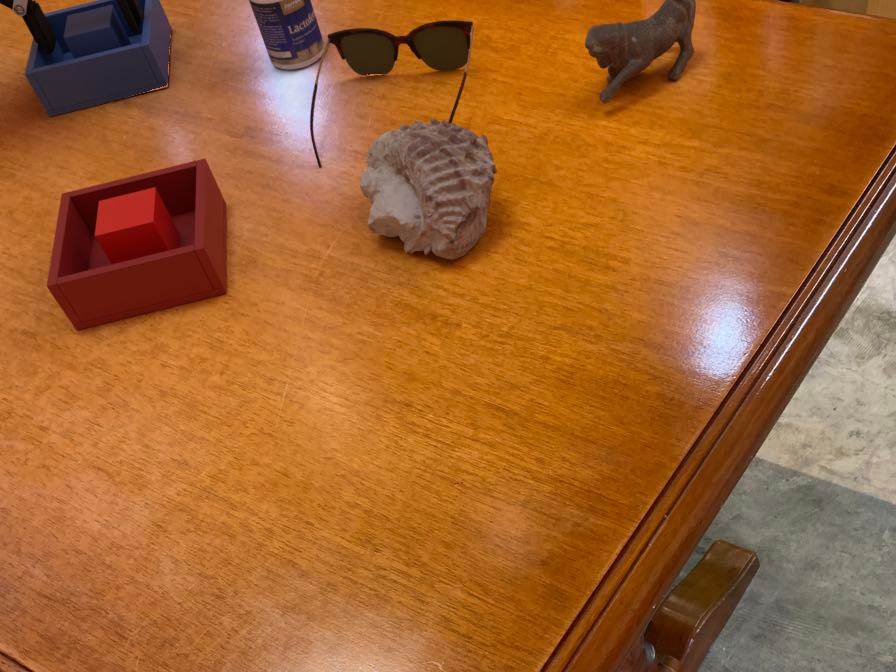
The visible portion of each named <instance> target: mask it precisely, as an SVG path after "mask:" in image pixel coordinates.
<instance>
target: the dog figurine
mask: <svg viewBox="0 0 896 672" xmlns="http://www.w3.org/2000/svg"><path fill="white" fill-rule="evenodd" d="M696 10H697V3H696V0H664V1H663V3H662V4H661V5H660V7H659V9H658V10H656V11H655V12H654V13H653V14H652V15H650V17H648V18H645V19H639V20H634V21H629V22H621V21H618V22H614V23H603V24H598V25H597V24H595V25H592V26H591V27H590V28H589V29H588V31H587V34H586V37H585V40H584V47H585V48H586V49H587V51H588V54H589V56H590V57H591V58H592V59H593V58H594V59H596V62H597V65H598V67H599V68H600V69H602V70H603V69H604V70H605V69H606V70H607V74H608V75H607V76H606V78H605V79H606V81H607V83H608V84H607V86H606V87H605V88H604V89H603V90H602V91H601V92H600V93H599V96H598V99H599V101H600V102H601V103H602V104H608V103H610V102H611V101H612V100H613V96H615V95H616V94H617V93H618V92H619V90H620V88H621V86H622V85H623V84H624V83H625V82H626V81H627V80H629V79H631V78H633V77H634V76H636V75H638V74H640V73H642V72H643V71H645V70H646V69H648V68H649V67H650V66H651V65H652V63H653V62H654V61H655V60H656V59H658V58H660V57H661V56H663V55H664V54H665V53H666V52H667V51H668V50H670V48H672V47H673V46H674V45H675V44H676V43H677V44H678V46H679V54H678V56H677V58H676V60H675V62H674V64H673V66H672V67H671V69H670V70H669V72H668V74H667V78H668V79H670V80H673V81H676V80H678V79H680V78H681V73H682V72H684V71H685V69H686V67H687V64H688V62H689V61H690V60H691V59H692V58H693V56H694V54H695V49H694V46H693V45H694V44H693V41H692V34H693V30H694V26H695V20H696Z"/></svg>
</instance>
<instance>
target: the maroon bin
mask: <svg viewBox="0 0 896 672" xmlns="http://www.w3.org/2000/svg"><path fill="white" fill-rule="evenodd" d="M154 187H155V188H156V189H157V191H158V193H159V195H160V197H161V199H162V201H163V203H164V205H165V207H166V209H167V211H168V212H169V214H170V216H171V218H172V220H173V222H174V224H175V226H176V228H177V230H178V232H179V234H180V248H177V249H173V250H169V251H165V252H161V253H157V254H153V255H148V256H144V257H140V258H136V259H132V260H128V261H124V262H120V263H116V264H111V262H110V261H109V259H108V257H107V256H106V254H105V252H104V251H103V249H102V247H101V246H100V244H99V242H98V241H97V239H96V237H95V229H96V221H97V213H98V205H99V201H101V200H105V199H110V198H114V197H118V196H122V195H126V194H130V193H134V192H138V191H142V190H146V189H150V188H154ZM59 202H60V203H59V208H58V214H57V220H56V225H55V226H56V227H55V231H54V238H53V245H52V252H51V256H50V263H49V269H48V276H47V282H46V288H47V289H48V291H49V292H50V294H51V295H52V297H53V299H54V300H55V301H56V303H57V304H58V305H59V307H60V308H61V310H62V311H63V313H64V314H65V316H66V317H67V319H68V320H69V322H70V323H71V325H72V326H73V327H74V329H75V330H76V331H79V330H83V329H87V328H91V327H96V326H101V325H104V324H106V323H111V322H117V321H120V320H124V319H128V318H133V317H136V316H139V315H140V316H141V315H145V314H148V313H152V312H157V311H161V310H164V309H169V308H172V307H176V306H181V305H185V304H188V303H193V302H197V301H201V300H205V299H210V298H213V297H217V296H221V295H225V294H227V293H228V292H227V291H228V290H227V285H228V284H227V202H226V200H225V198H224V196H223V194H222V191H221V189H220V187H219V185H218V182H217V180H216V178H215V176H214V173H213V172H212V170H211V167H210V165H209V162H208V161H207V159H206V158H201V159H198V160H193V161H192V160H191V161H188V162H185V163H180V164H176V165H172V166H169V167H164V168H159V169H155V170H152V171H147V172H144V173H140V174H136V175H131V176H128V177H124V178H119V179H116V180H112V181H107V182H104V183H99V184H96V185H91V186H88V187H87V186H86V187H84V188H83V187H82V188H79V189H75V190H71V191H66V192H62V193H61V195H60V201H59Z"/></svg>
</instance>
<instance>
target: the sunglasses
mask: <svg viewBox="0 0 896 672" xmlns="http://www.w3.org/2000/svg"><path fill="white" fill-rule="evenodd" d="M474 31H475V28H474V21H468V20H454V19H453V20H450V19H449V20H437V21H432V22H427V23H424V24H421V25H419V26H417V27H415V28H413V29H411V31H409V32H408V34H406V35H397V36H396V35H394V34H392V33H391V32H388V31H385V30H382V29H378V28H372V27H370V28H369V27H356V28H348V29H342V30H338V31H335V32H332V33H328V34H327V39H326V42H325V43H324V45H325V47H324V51H323V54H322V56H321V57H320V61H319V64H318V68H317V73H316V76H315V82H314V86H313V92H312V98H311V104H310V115H309V131H310V139H311V144H312V148H313V151H314V156H315V159H316V162H317V165H318V168H322V164H321V160H320V157H319V152H318V149H317V144H316V141H315V140H316V139H315V134H314V115H315V104H316V98H317V92H318V84H319V79H320V75H321V74H320V73H321V70H322V66H323V63H324V59H325V57H326V55H327V52H328V50H329V46H330V44H332V45H334V46H335V48H336V51H337V52H338V54H339V56H340V59H341V60H345V61H346V63H347V65H348V66H349V68H350V69H351V70H352V71H353V72H354V73H356V74H357V75H360V76H363V75H367V74H368V75H370V74H386V75H388V74H389V73H390V72H392V70H393V69H394V66H395V64H396V62H397V61H398V58H399V57H398V56H399V49H400V45H403V44H405V45H407V46H408V47H409V49H410V51H411V52H412V53H413V55H414V56H415V57H416V58H417V59H418V60H421V61H422V62H423V63H424V64H425V65H426V66H428V68H430V69H432V70H435V71H439V72H446V71H456V70H459V69H462V68H464V67H465V70H464V73H463V76H462V79H461V83H460V86H459V89H458V93H457V96H456V99H455V102H454V105H453V107H452V110H451V113H450V116H449V119H448V121H447V122H448V123H451V124H453V120H454V117H455V114H456V111H457V109H458V105H459V103H460V99H461V96H462V93H463V90H464V86H465V83H466V79H467V75H468V70H469V66H470V62H471V61H470V60H471V54H472V46H473V42H474Z"/></svg>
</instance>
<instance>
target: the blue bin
mask: <svg viewBox="0 0 896 672" xmlns="http://www.w3.org/2000/svg"><path fill="white" fill-rule="evenodd" d="M138 2H139V4H140V7H141V9H142V12H143V19H140V20H141V22H140V32H139V33H135V34H134V33H132V32H131V30H130V28H129V26H128V24H127V22H126V20H125V17H124V15H123V13H122V11H121V9H120V7H119V4H118V2H117V0H93V1H90V2H85V3H82V4H78V5H77V4H76V5H74V6H69V7H66V8H61V9H57V10H53V11H48V12H45V13H44V15H45V17H46V19H47V21H48V23H49V25H50V26H51V28H52V30H53V32H54V34H55V36H56V44H55V49H54V51H53V53H50V54H47V53H46V52H45V50H44V48H43V46H42V44H41V43H36V42H35V40H34V38H33V37H32V40H31V41H32V42H31V45H30V48H29V49H30V50H29V54H28V58H27V63H26V68H25V72H24V77H25V78H26V80H27V82H28V83H29V85H30V87H31V88H32V90H33V92H34V94H35V95H36V97H37V99H38V101H39V102H40V104H41V106H42V108H43V109H44V111H45V113H46V114H47V117H48V118H52V117H56V116H59V115H64V114H67V113H72V112H75V111H80V110H83V109H87V108H91V107H96V106H100V105H104V104H109V103H112V102H116V101H119V99H120V100H123V99H122V98H124V99H126V98H125V97H128V98H130V97H129V96H132V95H136V94H139V93H143V92H147V91H150V90H152V89H156V88H160V87H162V86H163V87H164V86H166V85H167V83H168V64H169V63H168V62H169V49H170V48H169V47H170V35H171V28H172V25H171V24H170V21H169V19H168V16H167V14H166V11H165V10H164V8H163V5H162V3H161V1H160V0H138ZM109 5H113V7H114V9H115V11H116V13H117V15H118V17H119V19H120V21H121V23H122V25H123V28H124V30H125V32H126V34H127V36H128V38H129V40H130V42H131V44H132V45H128V46H124V47H120V48H116V49H112V50H108V51H104V52H100V53H96V54H92V55H88V56H84V57H80V58H76V59H74V57H73V55H72V53H71V51H70V50H69V48H68V46H67V44H66V42H65V40H64V38H63V37H64V32H65V27H66V22H67V17H68V15H72V14H77V13H81V12H85V11H89V10H93V9H97V8H101V7H105V6H109ZM136 96H137V95H136ZM132 97H133V96H132ZM115 100H116V101H115Z"/></svg>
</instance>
